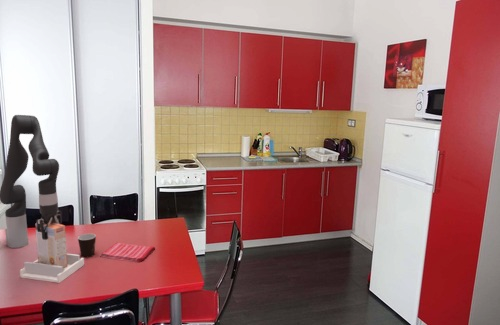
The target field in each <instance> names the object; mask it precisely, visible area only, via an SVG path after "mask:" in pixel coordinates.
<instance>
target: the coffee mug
mask: <svg viewBox="0 0 500 325" xmlns="http://www.w3.org/2000/svg"><path fill="white" fill-rule="evenodd" d="M96 238H97V235H96V234H95V233H83V234H81V235H79V236H77V241H78V246H79V251H80V257H81V258H91V257H93V256H95V253H96V251H95V250H96V241H97V239H96Z"/></svg>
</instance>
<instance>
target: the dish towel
mask: <svg viewBox="0 0 500 325" xmlns="http://www.w3.org/2000/svg"><path fill="white" fill-rule="evenodd" d="M155 250H156V247H155V246H147V245H140V244H139V245H138V244H130V243H129V244H128V243H122V242H116V243H114V244H113V245H112V246H111V247H109V248H108V249H107V250H105V251H104V252H102V253H101V254H100V256H99V257H100V258H106V259H111V260H118V261H127V262H135V263H137V262H138V263H141V262H142V261H144V260H145V259H146V258H147V257H148V256H150V255H151V253H153V252H154V251H155Z"/></svg>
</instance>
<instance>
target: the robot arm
mask: <svg viewBox="0 0 500 325" xmlns="http://www.w3.org/2000/svg"><path fill="white" fill-rule="evenodd" d="M41 129H42V128H41V125H40V121H39V119H38V118H37V117H36V116H35V115H25V114H15V115H13V116H12V119H11V124H10V136H9V137H10V139H9V146H8V151H7V156H6V161H5V171H4V175H3V180H2V183H1V187H0V202H1V204H3V205H11V206H10V207H8V208H7V209H6V210H5V211H4V213H5V223H6V225H5V226H6V228H5V230H4V231H5V240H6V246H7V247H9V248H12V249H17V248H18V249H19V248H22V247H25V246H27V245H28V244H29V238H28V237H29V235H28V224H27V222H28V221H27V214H26V212H27V211H26V210H27V193H26V189H25V187H24V186H23V185H21V184H15V183H16V182H17V181H18V180H19V178H20V177H22V175H23V174H24V173H25V171H26V170H27V168H28V164H29V154H30V156H31V159H32V172H33V174H34V175H36V176H38V177H42V176H48V177H46V178H45V179H41V180H39V182H38V183H37V184H38V185H37V186H38V205H39V213H40V214H41V218H40V219H36V221H35V222H36V223H37V231H38V232H42V239H43V240H47V239H48V234H47V227H49V226H50V224H51V223H58V224H62V223H63V212H62V210H59V200H58V194H57V179H58V175H59V172H60V163H59V161H58V160H57V159H56V158H50V153H49V151H48V148H47V147H46V145H45V144H46V143H45V142H44V138H43V133H42V132H43V131H42V130H41ZM20 135H33V136H32V138H31V140H30V141H29V143H28V152H29V153H28V152H27V150H26V148H25V147H24V146H23V144H22V142H21V140H20ZM12 204H13V205H12ZM44 224H47V225H44ZM44 227H45V229H44ZM40 228H41V229H40Z"/></svg>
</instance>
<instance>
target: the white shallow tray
mask: <svg viewBox="0 0 500 325" xmlns="http://www.w3.org/2000/svg"><path fill="white" fill-rule="evenodd" d="M23 265H24V267H23V268H21V269H19V277H20V278H21V279H29V280H30V279H31V280H35V281H36V280H37V281H41V282H42V281H44V282H52V283H58V284H60V283H62V282H63V281H64V280H65V279H67V278H68V277H70V276H71V275H72V274H73V273H75V272H77V271H78V270H79V269H81V268H82V267H83V266H85V257H81V254H76V253H67V267H66V268H64V269H63V266H56V265H49V264H41V263H38V259H36V260H34V261H33V262H32V261H24V262H23Z"/></svg>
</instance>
